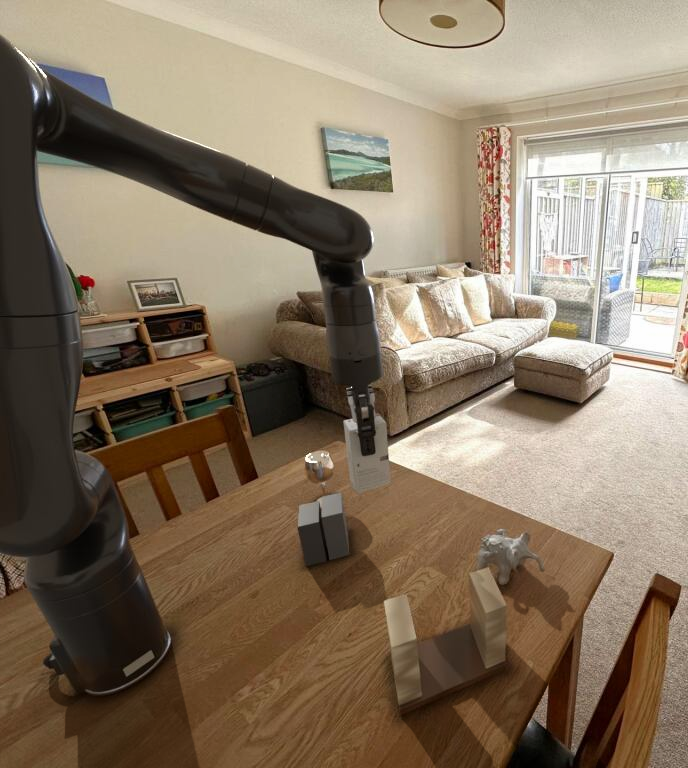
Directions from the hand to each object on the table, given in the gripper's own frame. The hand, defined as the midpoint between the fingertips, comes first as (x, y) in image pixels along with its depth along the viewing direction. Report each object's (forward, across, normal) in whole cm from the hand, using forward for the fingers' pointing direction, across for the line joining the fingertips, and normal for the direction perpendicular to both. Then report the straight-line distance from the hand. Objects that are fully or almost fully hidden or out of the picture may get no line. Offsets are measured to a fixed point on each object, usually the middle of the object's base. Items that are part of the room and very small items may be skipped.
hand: (366, 446), depth 68 cm
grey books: (+24, -6, -9) cm, 27 cm away
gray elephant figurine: (+24, +13, +21) cm, 35 cm away
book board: (+24, +25, +6) cm, 35 cm away
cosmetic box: (+8, 0, 0) cm, 8 cm away
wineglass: (+24, -22, -9) cm, 34 cm away
